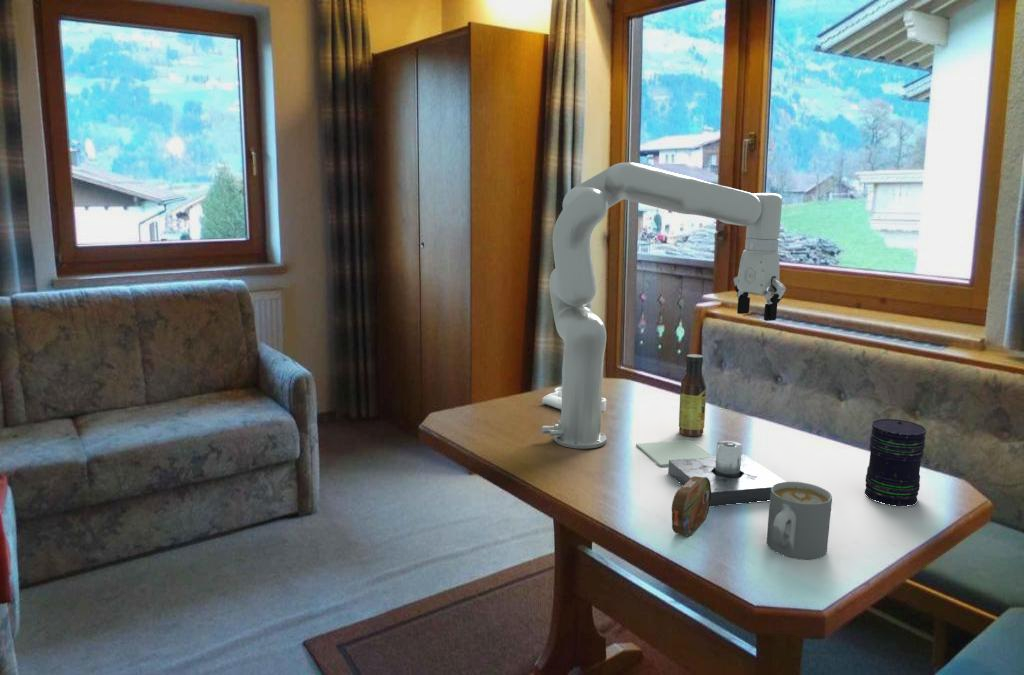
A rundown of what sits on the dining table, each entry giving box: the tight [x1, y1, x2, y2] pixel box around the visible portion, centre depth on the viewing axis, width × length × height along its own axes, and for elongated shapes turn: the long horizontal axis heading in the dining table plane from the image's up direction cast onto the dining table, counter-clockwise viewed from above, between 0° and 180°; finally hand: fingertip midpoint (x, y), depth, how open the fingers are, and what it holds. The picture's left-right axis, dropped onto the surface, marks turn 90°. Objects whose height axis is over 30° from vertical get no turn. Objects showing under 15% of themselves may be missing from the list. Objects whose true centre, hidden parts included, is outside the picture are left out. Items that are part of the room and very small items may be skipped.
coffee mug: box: [766, 481, 833, 561], centre depth 136 cm, size 13×10×10 cm
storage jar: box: [864, 418, 927, 507], centre depth 159 cm, size 10×10×15 cm
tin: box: [671, 476, 711, 537], centre depth 145 cm, size 15×3×8 cm, turn 148°
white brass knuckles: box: [541, 386, 607, 413], centre depth 220 cm, size 3×18×15 cm
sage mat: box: [635, 439, 714, 468], centre depth 183 cm, size 14×14×1 cm
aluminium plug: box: [715, 440, 743, 478], centre depth 164 cm, size 5×5×9 cm
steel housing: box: [667, 454, 786, 507], centre depth 164 cm, size 18×18×3 cm
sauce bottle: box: [678, 353, 707, 437], centre depth 196 cm, size 6×6×20 cm
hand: (756, 316), depth 192 cm, fingers open, 9 cm apart
